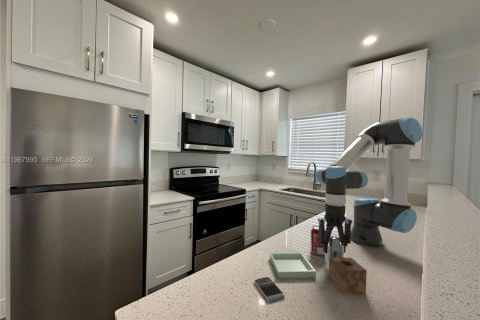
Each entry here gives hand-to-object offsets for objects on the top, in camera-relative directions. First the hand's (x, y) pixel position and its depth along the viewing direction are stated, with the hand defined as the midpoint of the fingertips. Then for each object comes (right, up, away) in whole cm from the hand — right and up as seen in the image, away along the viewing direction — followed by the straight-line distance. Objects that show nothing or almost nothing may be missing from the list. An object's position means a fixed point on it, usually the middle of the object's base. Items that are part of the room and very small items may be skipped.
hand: (334, 260), depth 80 cm
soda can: (-2, -3, +12) cm, 12 cm away
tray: (-18, -2, -1) cm, 18 cm away
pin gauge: (0, -3, 0) cm, 3 cm away
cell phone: (-29, -3, -15) cm, 33 cm away
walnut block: (-1, -3, -12) cm, 12 cm away
